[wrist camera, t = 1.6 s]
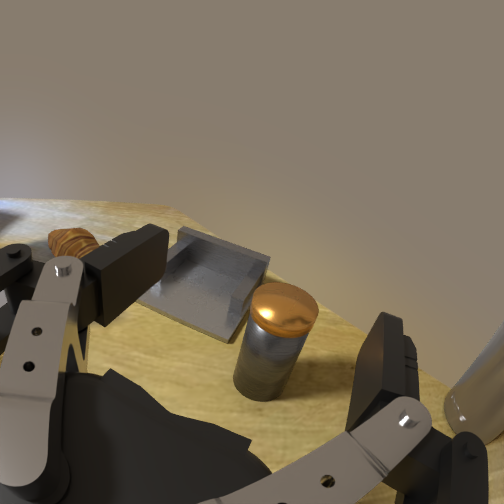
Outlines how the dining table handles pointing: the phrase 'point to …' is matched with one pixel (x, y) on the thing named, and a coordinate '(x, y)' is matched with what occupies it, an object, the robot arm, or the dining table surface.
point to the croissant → (71, 242)
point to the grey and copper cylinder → (273, 339)
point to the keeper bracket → (207, 283)
